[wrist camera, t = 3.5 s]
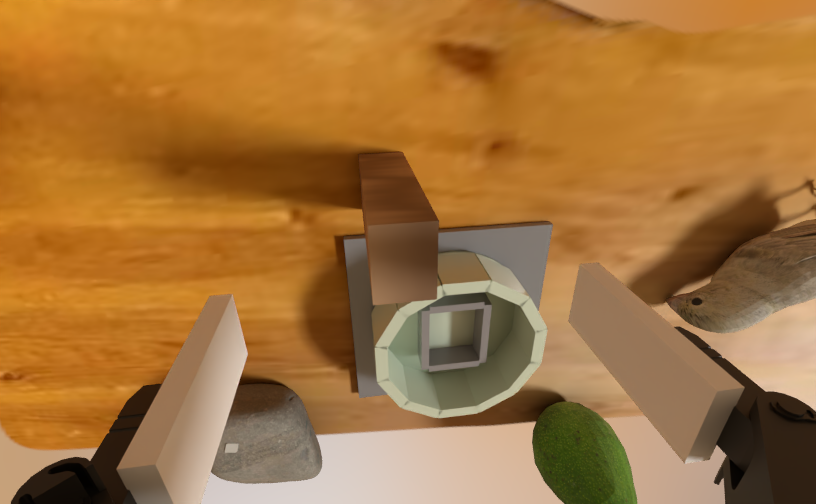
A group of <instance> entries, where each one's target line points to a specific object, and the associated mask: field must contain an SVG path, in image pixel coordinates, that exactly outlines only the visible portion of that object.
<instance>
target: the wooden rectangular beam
mask: <svg viewBox="0 0 816 504" xmlns="http://www.w3.org/2000/svg"><path fill="white" fill-rule="evenodd" d="M358 157H359V171H360V185H361V199H362V212H363V221H364V230H365V239H366V248H367V257H368V266H369V275H370V284H371V293H372V302H373V305H383V304H393V303H404V302H415V301H425V300H436V299H437V277H438V234H439V220H438V218H437V216H436V215H435V213H434V211H433V209H432V207H431V205H430V203H429V201H428V199H427V197H426V196H425V194H424V192H423V190H422V188H421V186H420V184H419V182H418V180H417V179H416V177H415V175H414V173H413V171H412V169H411V167H410V165H409V163H408V162H407V160H406V158H405V156H404V154H403V152H393V153H372V154H358Z"/></svg>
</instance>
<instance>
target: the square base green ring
mask: <svg viewBox="0 0 816 504" xmlns="http://www.w3.org/2000/svg"><path fill="white" fill-rule="evenodd" d="M552 227H553V224H552V223H551V222H549V221H548V222H534V223H521V224H507V225H493V226H479V227H465V228H452V229H439V234H438V277H437V299H436V300H425V301H415V302H404V303H393V304H383V305H373V302H372V293H371V284H370V275H369V266H368V257H367V248H366V239H365V235H355V236H344V248H345V258H346V268H347V278H348V288H349V299H350V309H351V319H352V329H353V339H354V349H355V359H356V370H357V380H358V390H359V398H363V397H371V396H379V395H389V396H390V397H391V398H392V399H393V400H394V401H395V402H396V403H397V405H398V406H399V407H400V408H402V409H406V410H409V411H413V412H416V413H420V414H423V415H427V416H431V417H434V418H446V417H454V416H461V415H469V414H477V413H478V412H479V413H480V412H482V411H484V410H486V409H488V408H490V407H492V406H494V405H496V404H497V403H499V402H501V401H503V400H505V399H507V398H509V397H511V396H513V395H515V393H517V392H518V391H519V390H520V388H521V387H522V386H523V385H524V384H525V382H526V381H527V380H528V379H529V378H530V376H531V375H532V374H533V373H534V372H535V371H536V369H537V368H538V367H539V366H540V365H541V364H540V363H541V362H542V357H543V351H544V346H545V340H546V335H547V327H546V325H545V323H544V321H543V319H542V317H541V316H540V314H539V312H538V311H539V305H540V299H541V293H542V287H543V281H544V275H545V269H546V263H547V257H548V251H549V245H550V239H551V233H552Z"/></svg>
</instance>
